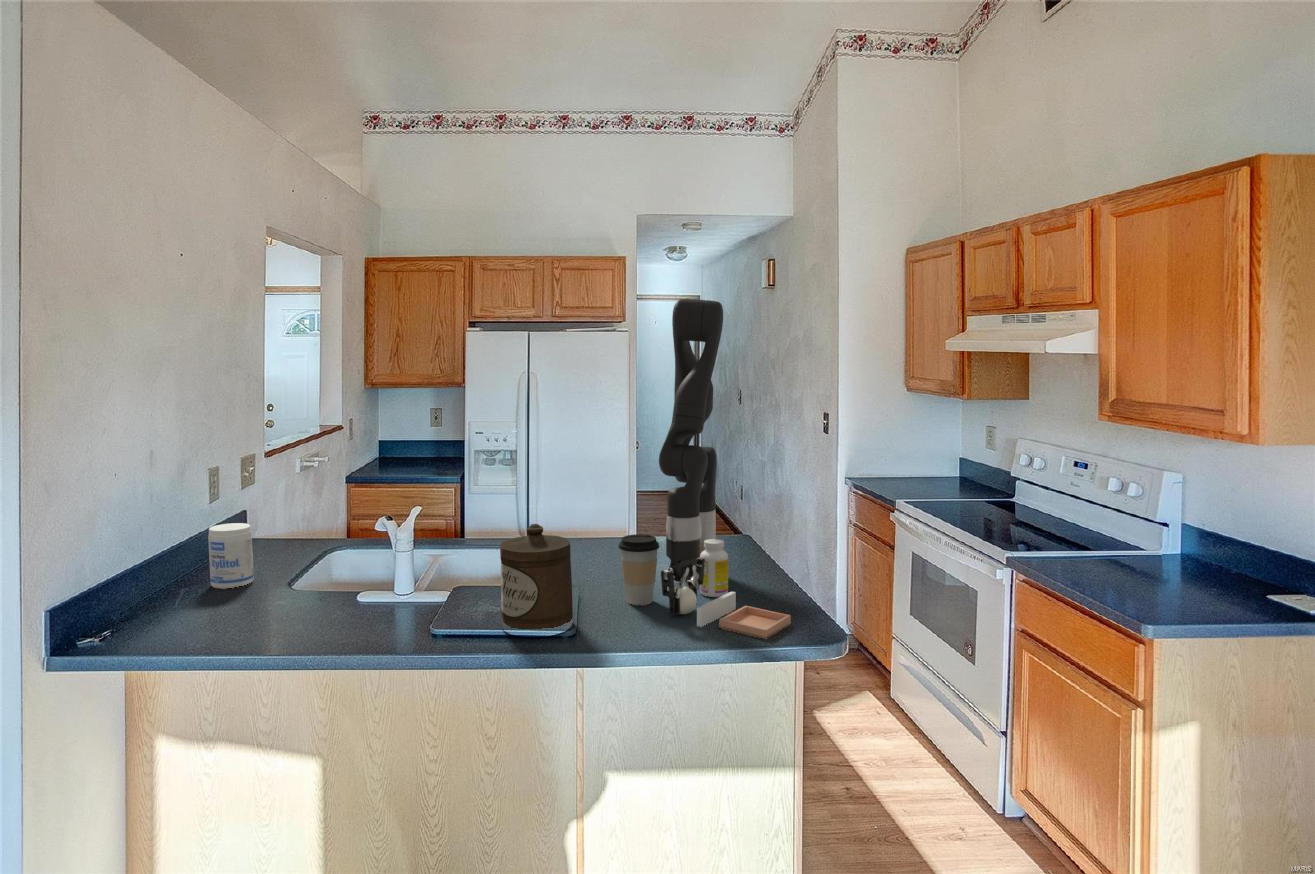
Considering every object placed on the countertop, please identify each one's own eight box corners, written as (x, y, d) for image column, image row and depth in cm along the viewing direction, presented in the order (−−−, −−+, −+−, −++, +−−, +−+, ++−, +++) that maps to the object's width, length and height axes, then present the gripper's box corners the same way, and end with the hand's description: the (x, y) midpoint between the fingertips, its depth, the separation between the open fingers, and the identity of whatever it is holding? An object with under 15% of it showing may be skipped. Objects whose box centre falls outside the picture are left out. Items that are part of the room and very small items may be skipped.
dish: (719, 628, 170) (719, 619, 170) (745, 614, 179) (745, 605, 179) (765, 639, 164) (765, 630, 163) (790, 624, 172) (790, 615, 172)
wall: (696, 626, 172) (696, 608, 171) (731, 608, 183) (731, 591, 182) (701, 627, 171) (701, 609, 170) (735, 609, 182) (735, 592, 182)
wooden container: (490, 624, 173) (487, 523, 171) (550, 610, 182) (549, 514, 180) (523, 644, 162) (520, 536, 159) (586, 628, 171) (584, 526, 168)
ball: (664, 614, 179) (664, 588, 178) (679, 607, 184) (679, 581, 183) (686, 620, 175) (686, 593, 175) (701, 612, 180) (702, 586, 180)
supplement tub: (208, 592, 197) (204, 532, 195) (213, 581, 205) (209, 524, 204) (253, 587, 200) (249, 528, 199) (255, 577, 209) (252, 521, 207)
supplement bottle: (731, 591, 196) (731, 539, 194) (724, 599, 189) (724, 545, 188) (704, 588, 198) (704, 536, 196) (696, 596, 192) (696, 543, 190)
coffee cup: (666, 598, 190) (666, 535, 189) (648, 610, 182) (648, 545, 180) (630, 593, 194) (629, 531, 192) (611, 604, 186) (610, 540, 184)
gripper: (687, 527, 185) (687, 598, 187) (649, 539, 174) (650, 615, 176) (715, 531, 181) (715, 604, 183) (678, 544, 170) (678, 622, 171)
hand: (683, 609), depth 179 cm, fingers open, 6 cm apart
